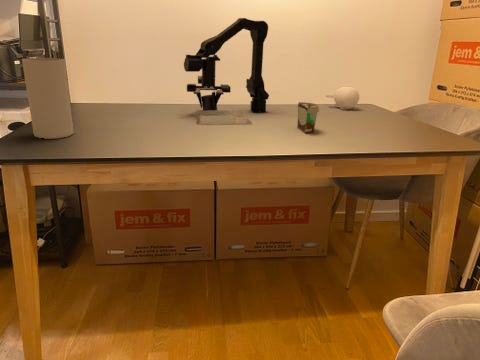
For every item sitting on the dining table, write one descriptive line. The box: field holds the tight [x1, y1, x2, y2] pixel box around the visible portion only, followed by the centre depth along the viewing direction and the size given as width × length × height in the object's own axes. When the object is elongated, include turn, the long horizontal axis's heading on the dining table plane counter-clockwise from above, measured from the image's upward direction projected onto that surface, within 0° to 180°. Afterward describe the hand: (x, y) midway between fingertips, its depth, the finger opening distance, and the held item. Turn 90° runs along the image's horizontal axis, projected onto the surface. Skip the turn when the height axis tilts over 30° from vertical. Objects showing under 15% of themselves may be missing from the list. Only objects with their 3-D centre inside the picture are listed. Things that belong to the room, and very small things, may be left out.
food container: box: [296, 101, 320, 134], centre depth 152 cm, size 12×6×10 cm, turn 9°
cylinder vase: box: [21, 57, 74, 140], centre depth 132 cm, size 12×12×25 cm
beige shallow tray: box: [195, 109, 253, 126], centre depth 165 cm, size 22×13×4 cm, turn 99°
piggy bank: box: [325, 86, 360, 111], centre depth 200 cm, size 12×12×15 cm
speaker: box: [201, 90, 218, 110], centre depth 175 cm, size 8×6×10 cm
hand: (208, 108), depth 176 cm, fingers closed on speaker, 6 cm apart
